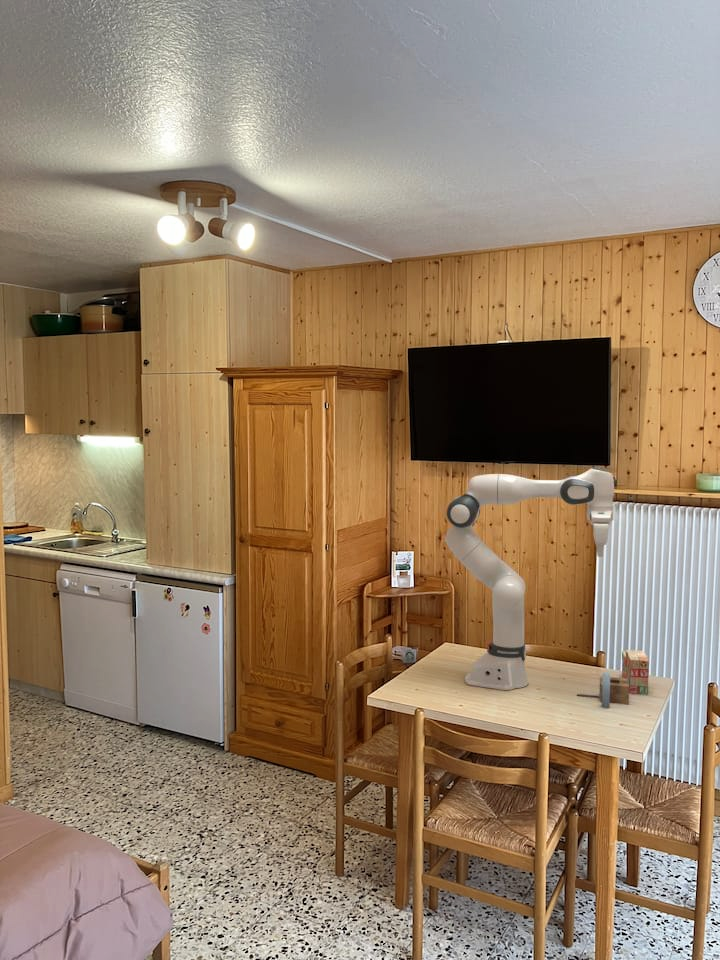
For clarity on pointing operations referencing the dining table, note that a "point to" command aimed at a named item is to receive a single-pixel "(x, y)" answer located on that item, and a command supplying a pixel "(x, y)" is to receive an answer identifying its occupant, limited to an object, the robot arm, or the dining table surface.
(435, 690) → the dining table surface
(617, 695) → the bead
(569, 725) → the dining table surface
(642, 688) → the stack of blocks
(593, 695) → the lace
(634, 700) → the dining table surface
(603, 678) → the blue-grey upright bar
